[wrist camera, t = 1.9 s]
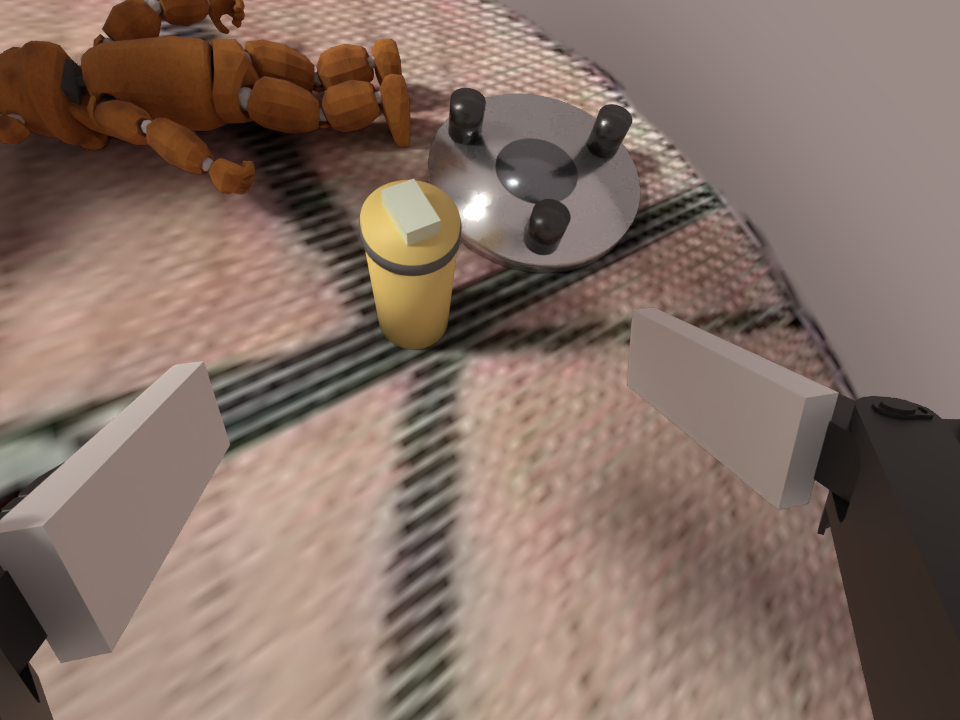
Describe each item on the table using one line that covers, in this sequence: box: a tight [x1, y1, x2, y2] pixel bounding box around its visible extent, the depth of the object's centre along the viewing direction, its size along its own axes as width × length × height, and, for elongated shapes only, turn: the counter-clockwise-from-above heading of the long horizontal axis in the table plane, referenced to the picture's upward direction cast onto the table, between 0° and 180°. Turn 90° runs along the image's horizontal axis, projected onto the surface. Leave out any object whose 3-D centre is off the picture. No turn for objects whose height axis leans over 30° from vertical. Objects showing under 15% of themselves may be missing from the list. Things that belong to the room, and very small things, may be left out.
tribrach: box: [428, 88, 640, 273], centre depth 37 cm, size 18×18×4 cm
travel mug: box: [359, 179, 462, 350], centre depth 27 cm, size 5×5×12 cm
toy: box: [0, 0, 410, 194], centre depth 35 cm, size 20×7×30 cm
